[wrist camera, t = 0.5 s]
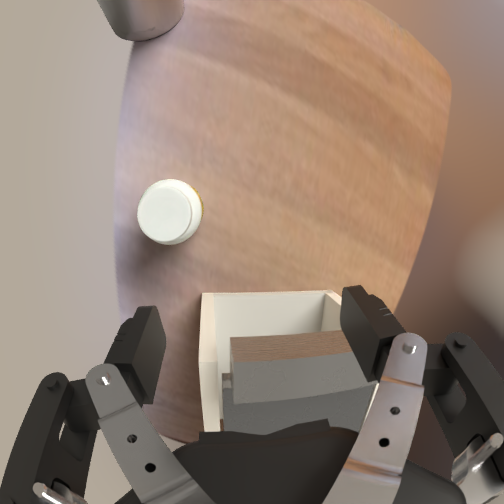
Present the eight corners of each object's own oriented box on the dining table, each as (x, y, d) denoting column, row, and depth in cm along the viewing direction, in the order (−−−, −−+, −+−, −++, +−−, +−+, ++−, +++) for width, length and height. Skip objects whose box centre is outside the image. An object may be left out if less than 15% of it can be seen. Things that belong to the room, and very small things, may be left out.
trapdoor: (220, 331, 18) (224, 362, 14) (381, 319, 20) (410, 340, 16) (225, 469, 21) (229, 500, 17) (343, 452, 22) (357, 477, 19)
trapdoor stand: (202, 292, 31) (198, 361, 17) (331, 289, 33) (399, 342, 19) (208, 414, 34) (212, 496, 20) (313, 405, 36) (350, 475, 22)
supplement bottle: (162, 177, 28) (140, 167, 18) (210, 191, 29) (210, 187, 19) (147, 226, 28) (120, 239, 19) (195, 241, 29) (188, 260, 20)
